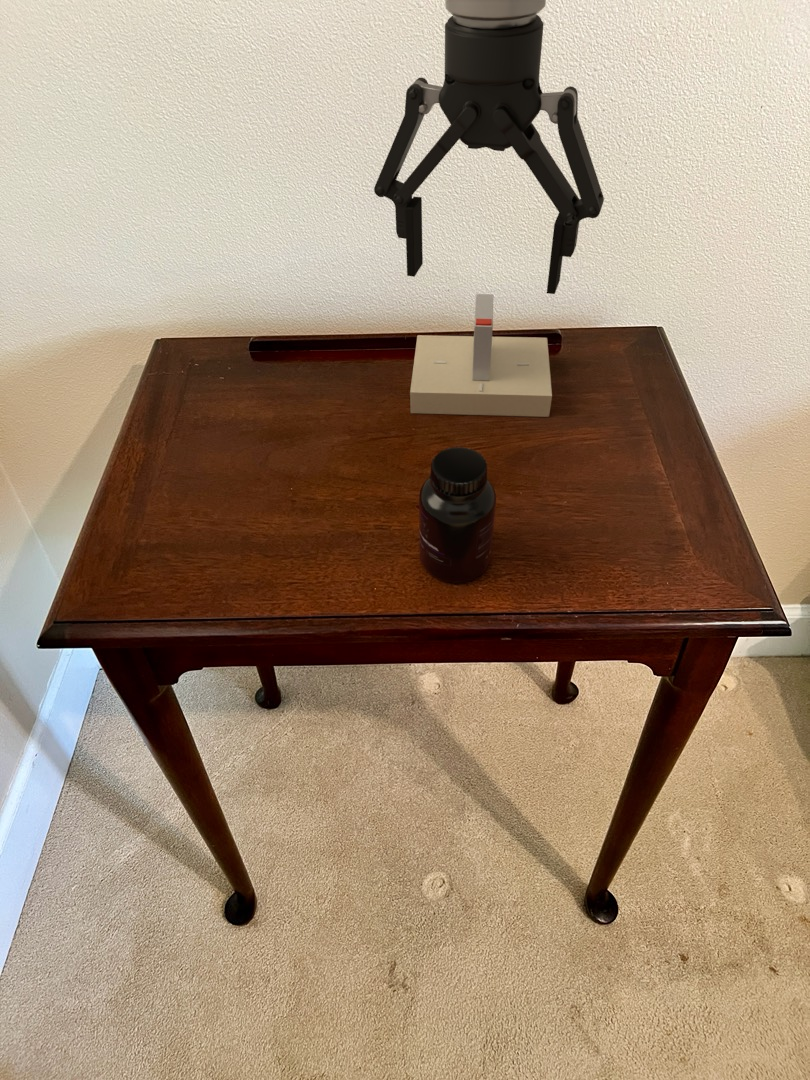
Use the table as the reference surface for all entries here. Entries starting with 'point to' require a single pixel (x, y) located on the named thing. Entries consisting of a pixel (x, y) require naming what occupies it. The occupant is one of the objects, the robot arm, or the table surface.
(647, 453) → the table surface
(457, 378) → the sink deck
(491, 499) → the supplement bottle
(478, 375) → the tap lever
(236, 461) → the table surface
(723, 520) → the table surface
